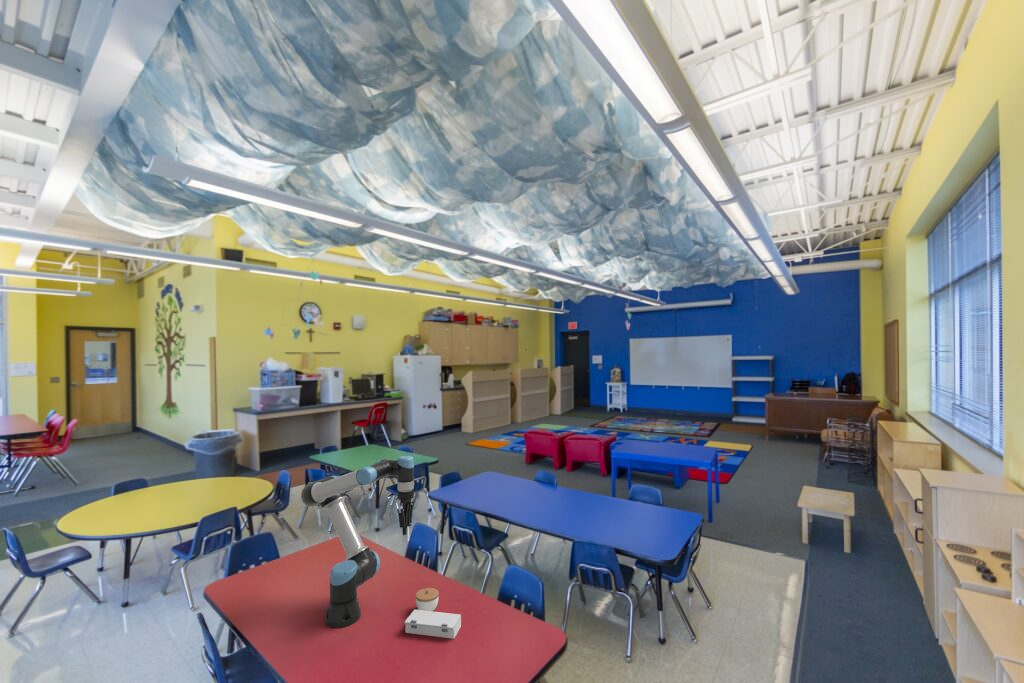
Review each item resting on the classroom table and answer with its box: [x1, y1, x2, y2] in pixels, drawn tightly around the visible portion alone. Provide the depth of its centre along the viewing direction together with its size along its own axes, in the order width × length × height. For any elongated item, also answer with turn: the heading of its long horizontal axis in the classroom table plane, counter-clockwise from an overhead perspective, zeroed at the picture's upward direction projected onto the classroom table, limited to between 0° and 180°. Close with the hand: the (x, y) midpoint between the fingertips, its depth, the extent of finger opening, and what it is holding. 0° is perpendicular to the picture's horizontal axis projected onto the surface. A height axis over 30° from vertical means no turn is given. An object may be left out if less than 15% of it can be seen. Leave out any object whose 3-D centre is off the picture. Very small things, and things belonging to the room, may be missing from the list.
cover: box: [404, 609, 462, 630], centre depth 188 cm, size 22×10×1 cm, turn 78°
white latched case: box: [405, 616, 462, 640], centre depth 188 cm, size 22×10×4 cm, turn 78°
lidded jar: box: [415, 587, 440, 612], centre depth 203 cm, size 11×11×9 cm
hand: (405, 540), depth 204 cm, fingers closed
